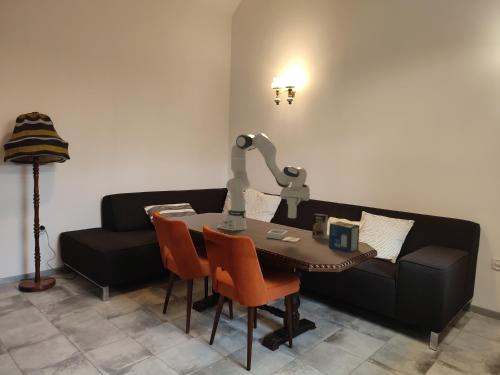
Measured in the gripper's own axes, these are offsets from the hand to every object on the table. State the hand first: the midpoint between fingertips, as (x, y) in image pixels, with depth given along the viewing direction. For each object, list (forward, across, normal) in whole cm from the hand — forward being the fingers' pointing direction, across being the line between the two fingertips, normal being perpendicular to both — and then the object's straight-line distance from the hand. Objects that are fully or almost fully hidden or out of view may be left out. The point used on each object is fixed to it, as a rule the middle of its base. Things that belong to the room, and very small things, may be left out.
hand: (292, 203), depth 242 cm
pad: (+17, 0, +18) cm, 25 cm away
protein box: (+20, +35, +15) cm, 43 cm away
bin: (+14, -12, +22) cm, 28 cm away
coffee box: (+4, +15, +32) cm, 35 cm away
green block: (+6, 0, +7) cm, 9 cm away
